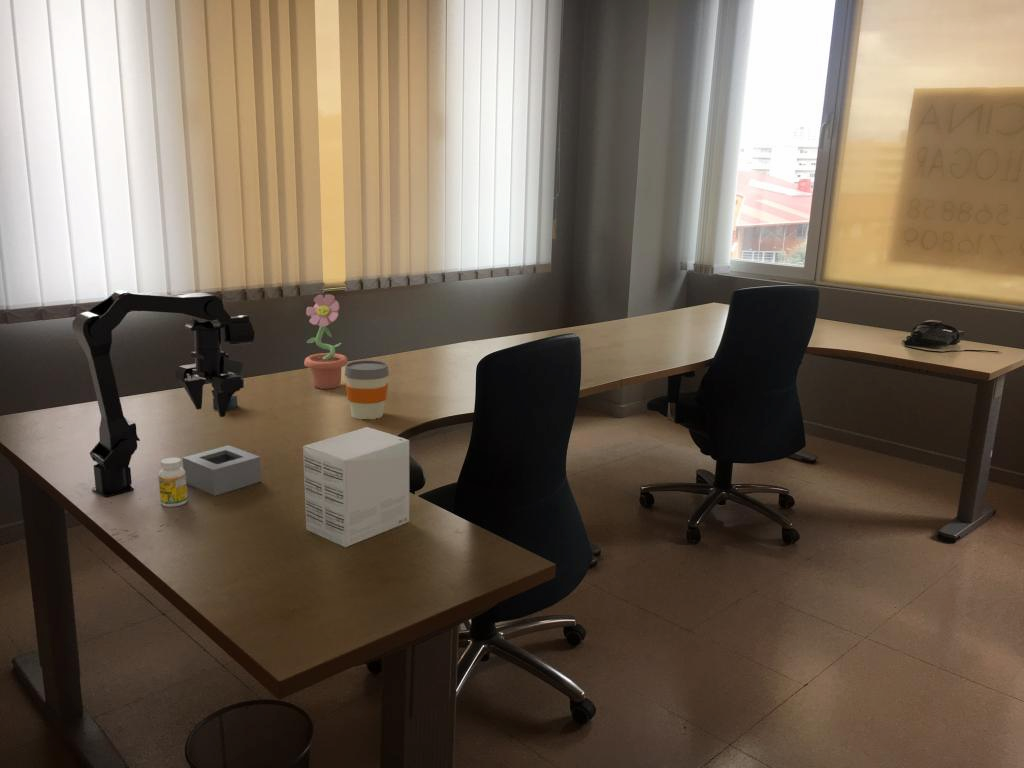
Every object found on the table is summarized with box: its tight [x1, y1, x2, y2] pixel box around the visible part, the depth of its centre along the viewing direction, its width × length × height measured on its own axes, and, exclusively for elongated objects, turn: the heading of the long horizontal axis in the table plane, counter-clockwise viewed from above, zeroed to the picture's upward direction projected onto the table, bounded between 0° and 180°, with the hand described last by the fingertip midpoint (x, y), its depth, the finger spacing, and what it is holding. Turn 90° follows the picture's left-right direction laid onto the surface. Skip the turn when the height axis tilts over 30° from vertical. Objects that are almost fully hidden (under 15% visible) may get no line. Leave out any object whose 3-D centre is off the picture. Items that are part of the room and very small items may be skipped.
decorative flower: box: [304, 293, 349, 390], centre depth 281 cm, size 15×14×30 cm
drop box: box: [182, 444, 262, 497], centre depth 199 cm, size 12×12×6 cm
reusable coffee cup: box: [344, 359, 389, 420], centre depth 253 cm, size 13×13×15 cm
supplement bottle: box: [158, 457, 188, 508], centre depth 187 cm, size 5×5×10 cm
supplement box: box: [302, 426, 410, 548], centre depth 177 cm, size 17×13×18 cm
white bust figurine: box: [212, 372, 238, 410], centre depth 257 cm, size 6×8×11 cm
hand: (210, 412), depth 206 cm, fingers open, 9 cm apart
